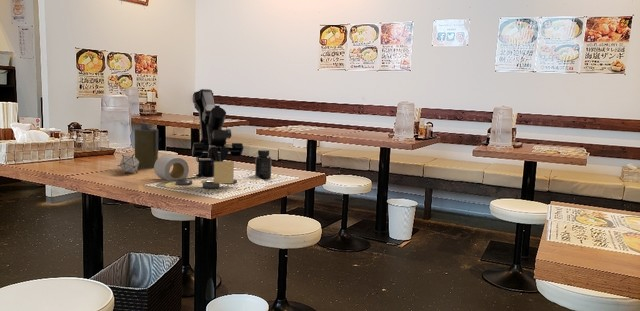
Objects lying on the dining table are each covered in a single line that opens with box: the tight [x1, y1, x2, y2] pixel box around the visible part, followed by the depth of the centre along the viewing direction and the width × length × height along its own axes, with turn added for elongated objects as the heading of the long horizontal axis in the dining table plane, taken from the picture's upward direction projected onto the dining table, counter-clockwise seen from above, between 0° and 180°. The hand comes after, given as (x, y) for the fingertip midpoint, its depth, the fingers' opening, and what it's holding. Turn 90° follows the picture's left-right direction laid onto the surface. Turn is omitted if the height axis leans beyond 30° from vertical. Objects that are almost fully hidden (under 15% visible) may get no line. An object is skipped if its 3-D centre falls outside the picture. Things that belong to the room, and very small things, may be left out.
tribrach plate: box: [175, 178, 238, 186], centre depth 186 cm, size 18×20×2 cm
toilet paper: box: [153, 154, 190, 181], centre depth 194 cm, size 10×10×10 cm
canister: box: [133, 122, 159, 169], centre depth 224 cm, size 11×10×20 cm
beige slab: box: [202, 160, 235, 190], centre depth 179 cm, size 11×6×10 cm, turn 113°
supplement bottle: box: [254, 149, 272, 180], centre depth 210 cm, size 7×7×12 cm
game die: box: [117, 153, 141, 175], centre depth 207 cm, size 9×8×10 cm
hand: (220, 167), depth 182 cm, fingers closed
